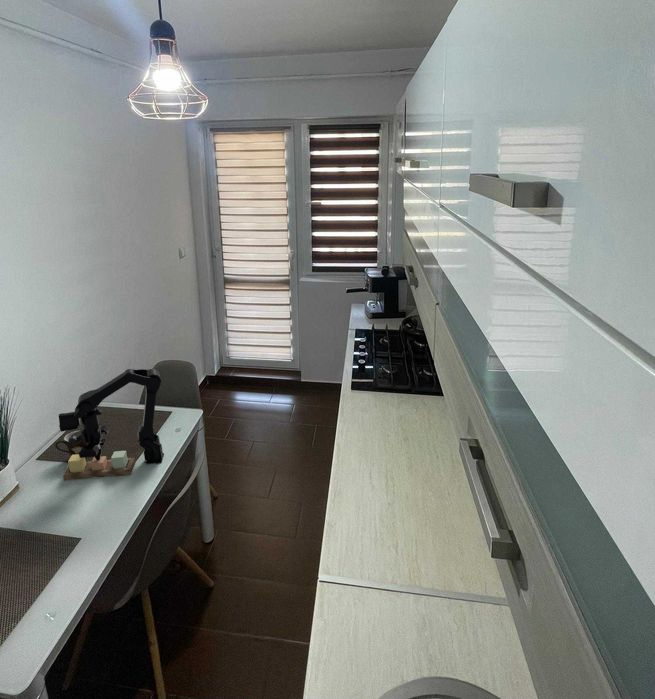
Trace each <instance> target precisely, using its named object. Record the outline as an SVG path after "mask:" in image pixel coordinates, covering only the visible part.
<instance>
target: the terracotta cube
mask: <svg viewBox="0 0 655 699" xmlns="http://www.w3.org/2000/svg"><path fill="white" fill-rule="evenodd" d="M107 460H108V459H107V455H103V456H102V455H101V458H100V460H96V458H95V457H92V460H91V461H92V462H91V463H90V464H91V468H92V471H96V470H105V469H106V467H107V465H108V463H107Z"/></svg>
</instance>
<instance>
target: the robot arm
mask: <svg viewBox="0 0 655 699" xmlns="http://www.w3.org/2000/svg"><path fill="white" fill-rule="evenodd" d="M130 383H133V384H137V385H140V386H143V387H144V386H145V396H144V397H145V398H144V407H143V409H144V410H143V417H142V419H143V420H142V423H141V425H137V433H136V437H137V438H136V439H137V442H138V443H139V446H140V447H141V448H143V449H144V450H143V457H144V460H145V462H144V463H145V464H146V465H149V464H150V465H151V464H160V463H162V462H163V459H164V456H165V453H164V452H163V446H162V443H161V442H160V441H161V440H160V436H159V435H158V434H156V433H155V432H154V417H155V412H156V411H155V410H156V400H157V399H156V398H157V395H158V392H159V390H160V387H161V385H162V384H161V383H162V378H161V375H160V372H159V370H158V369H155V368H150V369H144V368H139V369H135V368H134V369H132V368H128V369H126V370H125V371H123V372H122V373H120V374H119V375H117V376H116V377H114V378H113V379H111V380H110V381H107V382H106V383H105V384H103V385H102V386H100V387H98V388H96V389H92V390H88V391H86V392H83V393H82V394H80V395H79V397H78V399H77V400H78V401H77V404H76V406H75V408H74V411H70V412H65V413H64V412H62V413H58V422H59V424H58V427H59V431H60V432H66V431H68V432H69V431H72V430H73V431H74V430H77V429H79V426H81V424H82V429H81V430H77V431H78V432H76V433H73V434H72V435H71V437H70V438H69V444H70V445H71V446H75V445H77V444H79V443H81V442H83V444H86V443H88V445H87V446H83V447H82V448H81V450H80V451H79V457H80V458H85V457H87V458H94V457H95V458H96V460H100V458H101V456H102V454H103V450H104V446H105V444H106V440H107V439H105V438H104V439H103V437H104V434H105V435H106V436H108V435H109V433H110V428H109V427H108V426H107V425H102V423H100V421H99V415H100V416H101V415H102V414H103V409H102V408H99V406H100V404H101V403H102V402H103V401H104V400H105V399H106V398H108V397H109V396H111V395H112V394H114V393H116V392H117V391H118V390H120V389H122V388H124V387H125V386H127V385H128V384H130Z"/></svg>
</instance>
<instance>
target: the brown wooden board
mask: <svg viewBox="0 0 655 699" xmlns="http://www.w3.org/2000/svg"><path fill="white" fill-rule="evenodd" d="M127 458H128V463H127V465H126V467H125V468H117V469H113V465H112V460H111V458H110V459H107V463H108V465H107V467H106V469H105V470H96V471H92V468H91V464H90V463H91V462H92V460H88V461H86V464H87V465H86V467H85V468H84V470H83V471H81V472H70V468H69V465H68V466H67V468H66V469H65V471H64V472H63V474H62V478H63V481H64V482H65V481H74V480H75V481H76V480H88V479H98V478H99V479H100V478H107V477H108V478H110V477H121V476H131V475H132V473H133V470H134V468H135V465H136V463H137V462H136V458H135V457H127Z"/></svg>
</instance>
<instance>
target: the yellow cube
mask: <svg viewBox="0 0 655 699" xmlns="http://www.w3.org/2000/svg"><path fill="white" fill-rule="evenodd" d="M86 459H87V458H86ZM86 459H85V458H80V457H79V454H77V455H72V456H71V455H70V458H69V459H68V461H67V463H68V466H69V468H70V472H84V470H85V469H84V468H85V467H86V465H87V464H86Z"/></svg>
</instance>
